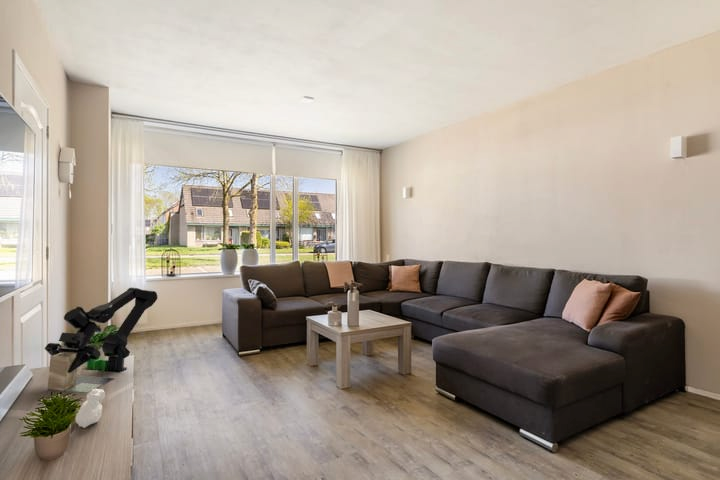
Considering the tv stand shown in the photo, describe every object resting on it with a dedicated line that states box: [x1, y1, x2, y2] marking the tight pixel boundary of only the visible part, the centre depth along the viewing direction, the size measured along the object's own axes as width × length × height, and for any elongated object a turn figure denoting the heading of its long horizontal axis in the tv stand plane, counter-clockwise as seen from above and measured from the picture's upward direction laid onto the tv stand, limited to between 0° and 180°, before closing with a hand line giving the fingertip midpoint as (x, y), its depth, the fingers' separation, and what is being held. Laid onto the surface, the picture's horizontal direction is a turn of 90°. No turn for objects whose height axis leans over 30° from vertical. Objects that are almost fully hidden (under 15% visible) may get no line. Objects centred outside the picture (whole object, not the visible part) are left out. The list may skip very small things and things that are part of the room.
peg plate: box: [43, 374, 116, 395], centre depth 153 cm, size 17×16×6 cm
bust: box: [75, 388, 106, 429], centre depth 126 cm, size 12×8×11 cm
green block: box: [86, 357, 108, 371], centre depth 174 cm, size 11×4×5 cm, turn 67°
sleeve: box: [46, 352, 78, 391], centre depth 149 cm, size 6×6×12 cm
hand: (59, 371), depth 147 cm, fingers closed on sleeve, 6 cm apart
